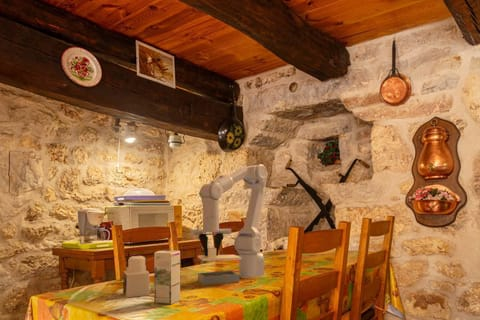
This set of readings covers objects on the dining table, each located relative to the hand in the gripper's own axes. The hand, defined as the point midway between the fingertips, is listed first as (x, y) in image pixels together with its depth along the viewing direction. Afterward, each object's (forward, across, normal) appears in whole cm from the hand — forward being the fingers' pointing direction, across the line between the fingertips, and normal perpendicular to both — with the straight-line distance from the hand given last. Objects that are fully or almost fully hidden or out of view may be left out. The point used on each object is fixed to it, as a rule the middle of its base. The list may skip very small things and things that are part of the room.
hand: (211, 255), depth 135 cm
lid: (+1, -3, 0) cm, 3 cm away
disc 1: (+10, -1, -2) cm, 10 cm away
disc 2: (+9, -6, -2) cm, 11 cm away
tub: (+10, -3, -2) cm, 11 cm away
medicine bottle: (+10, +26, +5) cm, 28 cm away
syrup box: (+10, +18, +19) cm, 28 cm away
